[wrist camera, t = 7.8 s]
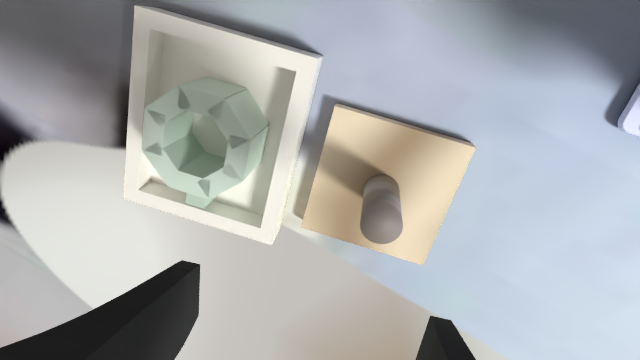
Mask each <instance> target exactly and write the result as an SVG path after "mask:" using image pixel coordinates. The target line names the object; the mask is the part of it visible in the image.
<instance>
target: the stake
mask: <svg viewBox="0 0 640 360" xmlns="http://www.w3.org/2000/svg"><path fill="white" fill-rule="evenodd" d="M475 148H476V147H475V146H474V145H473V144H472V143H470V142H467V141H463V140H460V139H456V138H453V137H450V136H446V135H443V134H440V133H436V132H433V131H429V130H426V129H423V128H419V127H416V126H412V125H409V124H406V123H402V122H399V121H396V120H392V119H389V118H385V117H382V116H379V115H375V114H372V113H368V112H365V111H362V110H358V109H355V108H352V107H348V106H345V105H341V104H338V103H336V104H335V106H334V110H333V113H332V117H331V120H330V124H329V128H328V131H327V135H326V138H325V142H324V146H323V149H322V153H321V156H320V160H319V164H318V167H317V171H316V174H315V178H314V181H313V185H312V189H311V192H310V196H309V199H308V203H307V207H306V210H305V214H304V217H303V221H302V225H301V228H304V229H307V230H311V231H314V232H317V233H320V234H324V235H327V236H330V237H333V238H336V239H340V240H343V241H346V242H349V243H353V244H356V245H359V246H362V247H365V248H369V249H372V250H375V251H378V252H382V253H385V254H388V255H391V256H394V257H398V258H401V259H404V260H407V261H410V262H414V263H417V264H420V265H423V264H424V262H425V260H426V257H427V255H428V253H429V251H430V248H431V246H432V244H433V242H434V240H435V237H436V235H437V233H438V231H439V228H440V226H441V224H442V222H443V219H444V217H445V215H446V213H447V211H448V208H449V206H450V204H451V202H452V199H453V197H454V195H455V193H456V191H457V188H458V186H459V184H460V182H461V179H462V177H463V175H464V173H465V171H466V168H467V166H468V164H469V162H470V159H471V157H472V155H473V153H474V150H475Z"/></svg>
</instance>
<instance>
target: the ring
mask: <svg viewBox="0 0 640 360" xmlns="http://www.w3.org/2000/svg"><path fill="white" fill-rule="evenodd" d="M195 113H198V114H202V115H205V116H208V117H212V118H213V120H214V121H215V123H216V124H217V126H218V127H219V129H220V130H221V132H222V133H223V135H224V136H225V138H226V140H227V141H228V146H227V152H226V158H224V157H220V156H217V155H214V154H211V153H207V152H205V150H204V149H203V148H202V146H201V145H200V143H199V142H198V140H197V139H196V137H195V136H194V134H193V133H192V130H193V122H194V114H195ZM268 124H269V122H268V121H267V119H266V117H265V116H264V114H263V113H262V111H261V109H260V108H259V106H258V104H257V103H256V101H255V99H254V98H253V96H252V95H251V93H250V91H249V90H248V89H247V88H245V87H242V86H238V85H235V84H232V83H228V82H225V81H222V80H218V79H215V78H211V77H206V78H202V79H199V80H195V81H191V82H188V83H184V84H180V85H178V86H176V87H175V88H173V89H172V90H170V91H169V92H167V93H166V94H164V95H163V96H161V97H160V98H158V99H157V100H155V101H154V102H152V103H151V104H149V105H148V106H146V107H145V110H144V123H143V136H142V149H141V150H143V151H142V152H143V153H144V155H145V156H146V157H147V159H148V160H149V161H150V163H151V164H152V166H153V167H154V168H155V170H156V171H157V173H158V174H159V175H160V177H161V178H162V180H163V181H164V182H165V184H166V185H167V186H169V188H173V189H176V190H179V191H182V192H186V193H187V195H186V203H187V204H190V205H193V206H196V207H200V208H203V209H204V208H205V207H206V206H207V205H208V204H209V203H210V202H211V201H212V200H213V199H214V198H215V197H216V196H217V195H218V194H220V193H222V192H224V191H226V190H228V189H230V188H232V187H233V186H235V185H237V184H239V183H241V182H243V181H244V179H245V178H246V177H247V176H248V175H249V174H250V173H251V172H252V171H253V170H254V169H255V167H256V166H257V165H258V164H259V163H260V162H261V161H262V158H263V153H264V148H265V144H266V139H267V134H268V130H269V125H268Z"/></svg>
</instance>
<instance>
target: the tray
mask: <svg viewBox="0 0 640 360" xmlns="http://www.w3.org/2000/svg"><path fill="white" fill-rule="evenodd" d="M323 57H324V56H322V55H319V54H315V53H312V52H308V51H305V50H301V49H298V48H294V47H291V46H288V45H284V44H281V43H277V42H274V41H270V40H267V39H264V38H260V37H257V36H253V35H250V34H246V33H243V32H239V31H236V30H233V29H229V28H226V27H222V26H219V25H215V24H212V23H208V22H205V21H202V20H198V19H195V18H191V17H188V16H184V15H181V14H178V13H174V12H171V11H167V10H164V9H160V8H157V7H147V6H137V5H135V6H134V23H133V40H132V57H131V74H130V91H129V108H128V125H127V142H126V159H125V177H124V194H123V199H126V200H130V201H133V202H136V203H139V204H142V205H145V206H149V207H152V208H155V209H158V210H162V211H165V212H168V213H171V214H174V215H177V216H180V217H184V218H187V219H190V220H193V221H197V222H200V223H203V224H206V225H209V226H213V227H216V228H219V229H222V230H225V231H228V232H231V233H235V234H238V235H241V236H244V237H247V238H251V239H254V240H257V241H260V242H263V243H267V244H270V245H272V243H273V241H274V239H275V237H276V236H277V234H278V231H279V230H280V226H281V223H282V219H283V215H284V211H285V207H286V203H287V199H288V195H289V191H290V187H291V183H292V179H293V175H294V171H295V167H296V163H297V159H298V155H299V152H300V148H301V144H302V140H303V136H304V132H305V128H306V124H307V120H308V116H309V112H310V108H311V104H312V100H313V96H314V92H315V88H316V85H317V81H318V77H319V73H320V69H321V65H322V61H323ZM206 77H211V78H215V79H218V80H222V81H225V82H228V83H232V84H235V85H238V86H242V87H245V88H247V89H248V90H249V91H250V93H251V95H252V96H253V98H254V99H255V101H256V103H257V104H258V106H259V108H260V109H261V111H262V113H263V114H264V116H265V117H266V119H267V121H268V122H269V124H268V125H269V130H268V134H267V139H266V144H265V148H264V153H263V158H262V161H261V162H260V163H259V164H258V165H257V166H256V167H255V169H254V170H253V171H252V172H251V173H250V174H249V175H248V176H247V177H246V178H245V179H244V181H243V182H241V183H239V184H237V185H235V186H233V187H232V188H230V189H228V190H226V191H224V192H222V193H220V194H218V195H217V196H216V197H215V198H214V199H213V200H212V201H211V202H210V203H209V204H208V205H207V206H206V207H205V208H204V209H203V208H200V207H196V206H193V205H190V204H187V203H186V195H187V193H186V192H182V191H179V190H176V189H173V188H169V186H167V185H166V184H165V182H164V181H163V180H162V178H161V177H160V175H159V174H158V173H157V171H156V170H155V168H154V167H153V166H152V164H151V163H150V161H149V160H148V159H147V157H146V156H145V155H144V153H143V152H142V151H143V150H141V149H142V136H143V123H144V110H145V107H146V106H148V105H149V104H151V103H152V102H154V101H155V100H157V99H158V98H160V97H161V96H163V95H164V94H166V93H167V92H169V91H170V90H172V89H173V88H175V87H176V86H178V85H180V84H184V83H188V82H191V81H195V80H199V79H202V78H206ZM192 133H193V134H194V136H195V137H196V139H197V140H198V142H199V143H200V145H201V146H202V148H203V149H204V150H205V152H207V153H211V154H214V155H217V156H220V157H224V158H226V152H227V146H228V141H227V140H226V138H225V136H224V135H223V133H222V132H221V130H220V129H219V127H218V126H217V124H216V123H215V121H214V120H213V118H212V117H208V116H205V115H202V114H198V113H195V114H194V122H193V130H192Z"/></svg>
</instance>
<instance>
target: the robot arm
mask: <svg viewBox="0 0 640 360" xmlns="http://www.w3.org/2000/svg"><path fill="white" fill-rule="evenodd" d="M617 123H618V128H619V129H620V130H621V131H623V132H625V133H628V134H631V135H634V136H638V137H640V130H639V126H640V84H639V85H638V87H637V89H636V90H635V92H634V94H633V95H632V97H631V99H630V100H629V102H628V104H627V106H626V107H625V109H624V111H623V112H622V114H621V116H620V117H619V120H618V122H617ZM199 283H200V264H196V263H191V262H186V261H180V262H178V263H176V264H174V265H173V266H171V267H169V268H167V269H166V270H164V271H162V272H161V273H159V274H157V275H156V276H154V277H152V278H151V279H149V280H147V281H145V282H144V283H142V284H140V285H138V286H137V287H135V288H133V289H131V290H130V291H128V292H126V293H124V294H123V295H121V296H119V297H117V298H115V299H113V300H111V301H109V302H107V303H105V304H103V305H101V306H100V307H97V308H95V309H93V310H92V311H90V312H88V313H85V314H83V315H81V316H79V317H77V318H75V319H73V320H70V321H68V322H66V323H64V324H61V325H59V326H57V327H54V328H52V329H50V330H47V331H45V332H42V333H40V334H37V335H34V336H32V337H29V338H26V339H24V340H21V341H18V342H15V343H13V344H10V345H7V346H4V347H2V348H0V360H174V359H175V358H176V356H177V355H178V353H179V351H180V350H181V348H182V347H183V345H184V343H185V341H186V339H187V337H188V335H189V334H190V332H191V330H192V327H193V326H194V323H195V321H196V319H197V317H198V313H199ZM416 360H476V359H475V358H474V356H473V354H472V353H471V351H470V350H469V348H468V347H467V345H466V343H465V342H464V340H463V338H462V337H461V335H460V334H459V332H458V330H457V329H456V327H455V326H454V324H453V323H452V321H451V320H447V319H443V318H438V317H434V316H430V318H429V322H428V324H427V327H426V331H425V334H424V336H423V339H422V342H421V345H420V348H419V351H418V354H417V357H416Z"/></svg>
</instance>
